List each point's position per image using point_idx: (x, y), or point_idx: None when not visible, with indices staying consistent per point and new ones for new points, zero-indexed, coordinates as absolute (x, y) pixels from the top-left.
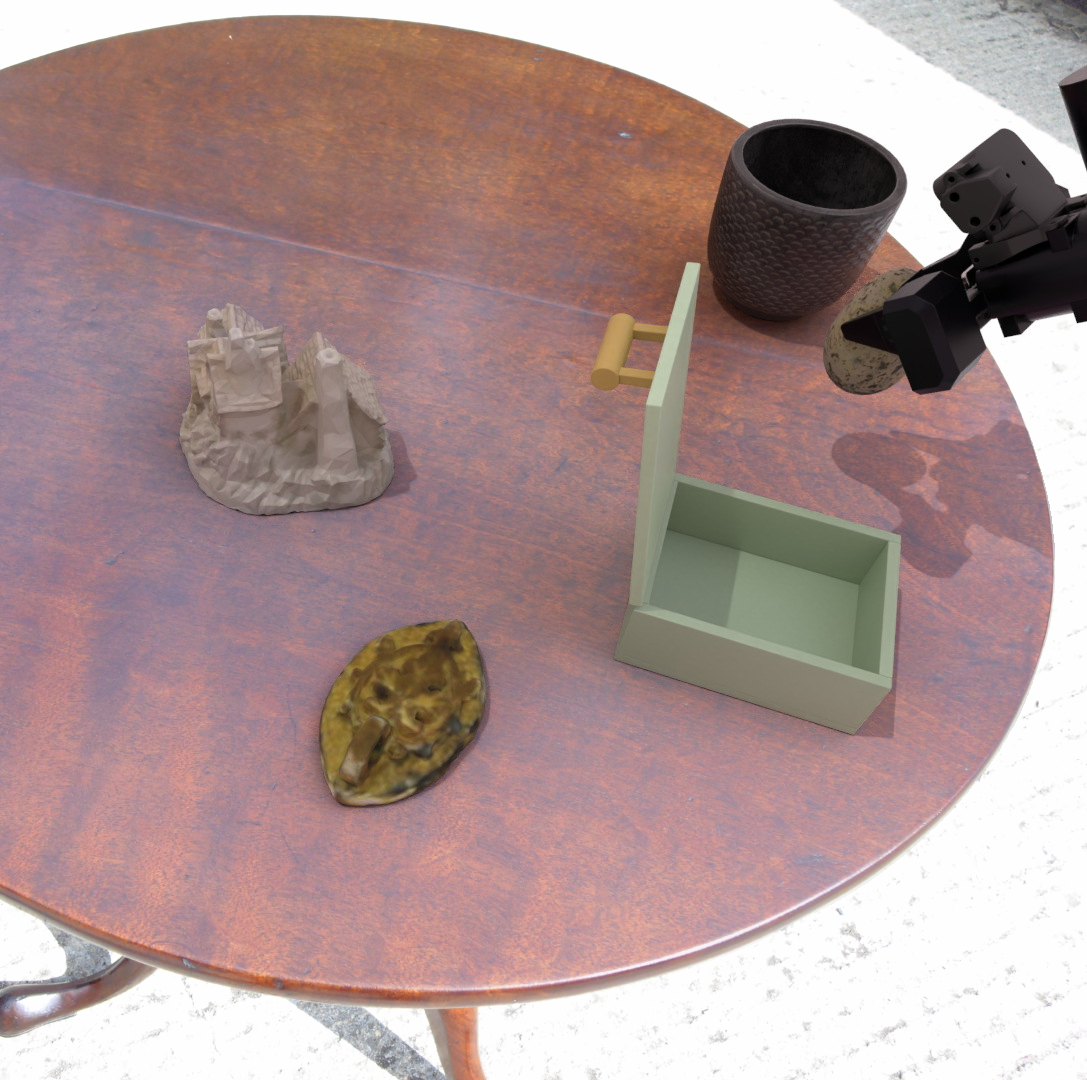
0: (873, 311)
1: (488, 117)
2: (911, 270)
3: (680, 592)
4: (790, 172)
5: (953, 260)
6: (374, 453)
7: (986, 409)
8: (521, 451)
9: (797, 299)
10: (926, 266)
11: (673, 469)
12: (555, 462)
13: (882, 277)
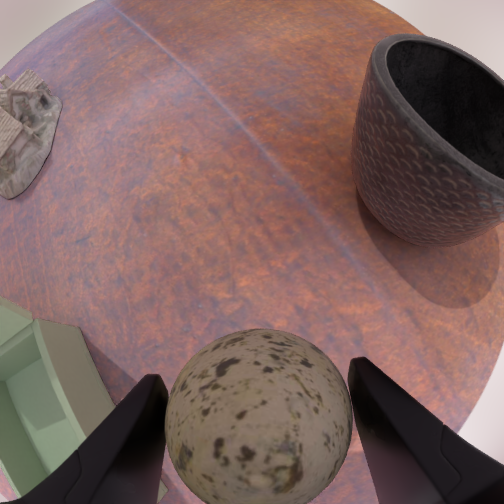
0: (94, 444)
1: (333, 13)
2: (271, 476)
3: (44, 385)
4: (468, 108)
5: (436, 500)
6: (9, 174)
7: (451, 419)
8: (76, 212)
9: (391, 222)
10: (425, 414)
11: (2, 326)
12: (81, 235)
13: (211, 404)
